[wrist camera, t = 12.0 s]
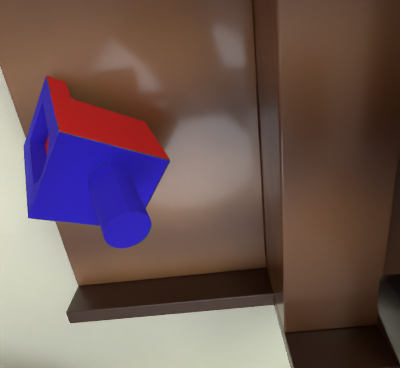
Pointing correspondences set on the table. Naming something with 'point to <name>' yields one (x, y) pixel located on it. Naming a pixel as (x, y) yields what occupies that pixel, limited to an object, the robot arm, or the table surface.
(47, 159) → the toy building block
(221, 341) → the table surface
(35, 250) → the table surface
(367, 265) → the shelf
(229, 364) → the table surface
